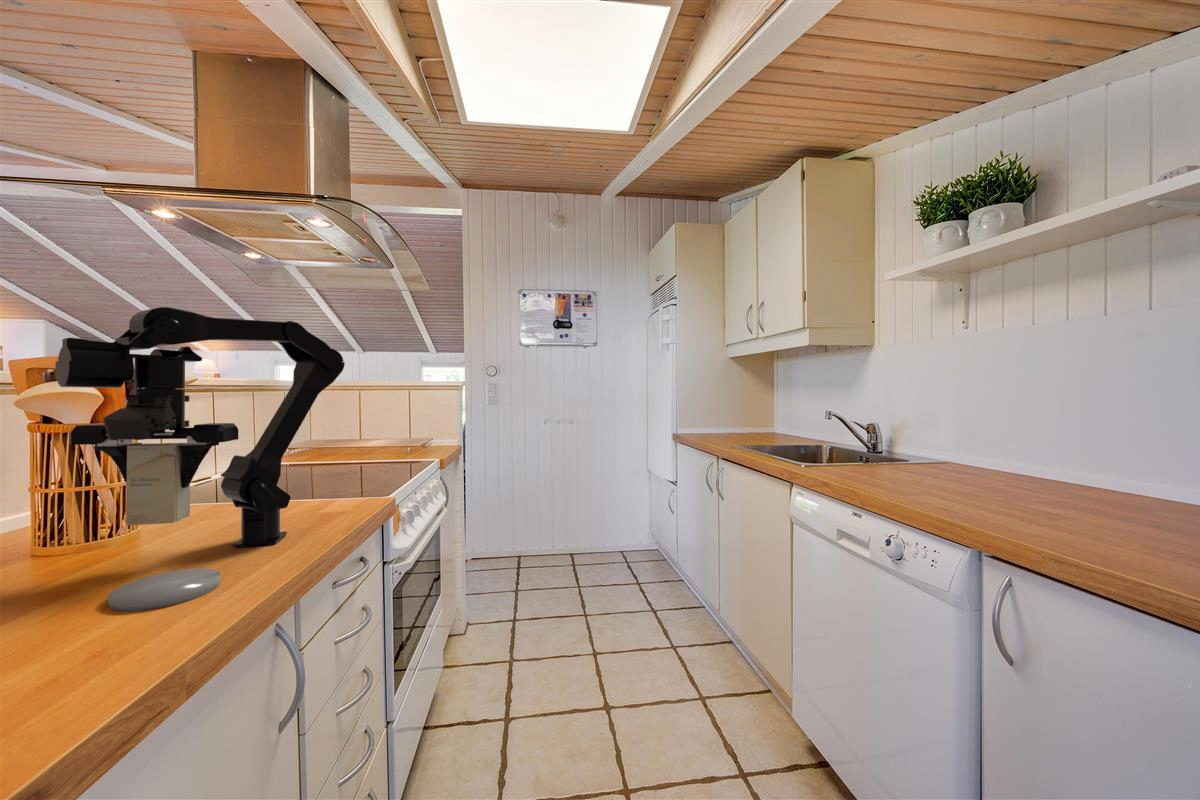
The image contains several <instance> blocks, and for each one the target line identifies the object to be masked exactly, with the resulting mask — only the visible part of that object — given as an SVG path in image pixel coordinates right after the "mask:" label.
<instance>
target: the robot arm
mask: <svg viewBox="0 0 1200 800" xmlns="http://www.w3.org/2000/svg"><path fill="white" fill-rule="evenodd" d="M128 328H129V329H127V330H125V332H124V333H122V334H121V335H120V336H118V337H117V338H116V339H115V340H114V341H113V342H108V341H97V340H96V341H95V340H88V339H83V338H76V337H65V338H63V339H62V340H61V341H62V345H61V348H60V350H59V353H58V357H57V361H55V377H56V380H57V384H58V386H59V387H61V388H96V389H97V388H98V389H99V388H101V389H102V388H105V389H119V388H122V386H123V385H124V383H125V382H131V381H132V379H133V380H134V381H133V382H134V383H133V384H134V385H133V387H134V390H133V394H128V395H127V398H126V405H125V407H122V408H119V409H117V410H115V411H114V412H111V413H110V414H108V415H106V416H104V417H103V418H102V420H103V423H92V424H77V425H75V426H74V427H73V428H72V429H71V430H70V431H69V433H68V434H69V435H68V436H69V437H68V438H69V439H68V440H69V441H68V442H69V443H68V444H69V446H70V445H71V446H73V445H74V446H76V445H77V446H78V445H80V446H83V445H84V446H85V445H96V446H92V448H93V450H94V451H101V452H103V453H104V454H106V455H107V456H108V457H110V458H111V459H112V461H113V462H114V463H115V464H116V467H117V468H118V470H119V472H120V474H121V475H122V477H123V479H124V482H125V484H127V446H130V445H138V444H143V442H133V441H134V440H135V441H141V440H142V441H143V440H178V439H179V440H185V439H186V443H187V444H185V445H180V446H178V447H179V449H180V451H181V453H182V467H181V487H182V488H186V487H188V486H189V484H190V485H191V482H192V480H193V478H194V476H195V474H196V473H197V471H198V469H199V467H200V465H201V464H202V461H203V460H204V459H205V457H206V456H207V454H208V453H209V452H210V450H211V449H212V447H216V446H219V445H220V443H226V442H230V441H235V440H236V441H237V440H239V428H238V426H237V425H236V424H235V423H234V422H219V423H218V422H215V423H214V422H211V423H199V424H194V426H193V427H190V420H186V417H185V415H186V412H185V410H186V402H187V403H189V402H190V395H186V362H187V363H194V362H195V363H196V362H201V361H203V357H202V356H200V355H199V354H197V353H196V352H194V351H193V350H192V348H191V347H190V346H182V347H180V348H179V349H177V350H176V349H161V348H160V349H159V348H155V349H153V350H152V351H151V352H150V354H142V353H141V354H139V353H130V352H131V351H137V350H139V351H140V350H148V349H151V348H154V347H163V346H172V345H173V346H174V345H181V344H182V345H183V344H190V343H196V342H197V343H198V342H205V341H233V342H235V341H237V342H239V341H240V342H244V341H245V342H275V343H276V342H277V343H278V344H279V345H280V346H281V347H282V349H283V350H284V351H285V353H286V354H287V356H288V357H289V358H290V359H291V360H292V361H294V363H295V365H294V368H293V378H292V379H293V380H292V385H291V387H290V388H289V390H288V392H287V394H286V395H285V397H284V399H283V400H282V402H281V404H280V405H279V407H278V408H277V410H276V412H275V413H274V415H273V416H272V419H271V420H270V421H269V423H268V425H267V427H266V428H265V430H264V431H263V433H262V435H261V437H260V438H259V440H258V441H257V443H256V444H255V446H254V448H253V449H252V450H251V451H250V452H249V453H247V454H246V455H238V454H236V455H234V456H233V457H232V459H231V460H230V463H229V465H228V467H227V469H226V470H225V471H224V472H223V473H221V474H220V477H223V478H222V481H221V484H220V488H221V490H222V492H223V494H224V496H225V497H226V498H228V499H230V500H231V501H232V503H233V505H234V507H235V508H240V509H241V510H240V511H241V515H240V516H241V525H240V526H241V528H240V533H241V535H240V536H241V538H239V539H238V540H237V541H235V542H234V543H232V547H233V548H237V547H238V548H239V547H253V546H267V545H274V544H277V543H278V542H279V541H281V540H282V539H283V538H284V537H286V536H287V535H286V534H288V531H281V510H282V509H286V508H288V506H289V503H290V501H291V495H289V494H288V493H287V492H286V491H285V490H283V489H282V488H281V487H279V486H278V484H279V481H280V478H281V474H282V473H281V472H282V459H283V457H284V455H285V453H286V452H287V450H288V449H289V446H290V444H291V443H292V441H293V439H294V438H295V436H296V434H297V432H298V431H299V429H300V427H301V426H302V423H303V422H304V420H305V418H306V417H307V415H308V413H309V412H310V410H311V409H312V406H313V405H314V403H315V402H316V399H317V398H318V395H320V393H321V392H322V391H324V390H325V389H327V387H329V386H330V385H332V384H333V383H334V382H335V381H336V379H337V378H338V377H339V376H340V375H341V374H342V373H343V370H344V367H345V361H344V357H343V356H342V354H341V353H340V351H338V350H336V349H334V348H332V347H330V346H329V345H328V344H327V343H326V342H325V341H324V340H322V339H320V338H319V337H317V336H316V335H314V334H313V333H311V332H309V331H308V330H307V329H306V328H305V327H304V326H303V325H301V324H300V323H298V322H296V321H293V320H285V321H277V320H276V321H274V320H261V319H260V320H258V319H240V318H227V317H226V318H221V317H213V316H208V315H204V314H200V313H197V312H195V311H189V310H184V309H179V308H174V307H169V306H163V307H155V308H149V309H144V310H140V311H138V312H136V313H135V314H134V315H132V317H131V319H130V320H129V323H128ZM133 377H134V378H133ZM167 430H168V431H167ZM282 537H283V538H282ZM281 538H282V539H281Z"/></svg>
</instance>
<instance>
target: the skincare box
mask: <svg viewBox="0 0 1200 800" xmlns="http://www.w3.org/2000/svg"><path fill="white" fill-rule="evenodd" d="M185 444H187V442H161V443H160V442H159V443H157V442H156V443H153V442H152V443H151V442H150V443H146V442H145V443H142V444H138V445H130V446H127V483H126V490H125V491H126V492H125V493H126V494H125V495H126V500H125V502H126V503H125V505H126V513H125V514H126V516H125V518H126V521H125V524H126V526H140V525H141V526H143V525H158V524H159V525H160V524H161V525H162V524H172V523H176V522H179V521H182V520H183V519H186V518H189V517H190V514H191V513H190V512H191V510H190V508H191V506H190V505H191V502H190V501H191V483H190V484H189V486H188V487H186V488H182V487H181V467H182V453H181V451H180V449H179V447H178V446H180V445H185Z"/></svg>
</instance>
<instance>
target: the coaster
mask: <svg viewBox="0 0 1200 800" xmlns="http://www.w3.org/2000/svg"><path fill="white" fill-rule="evenodd" d="M220 584H221V573H220V571H219V570H217V569H212V568H202V567H200V568H187V569H179V570H178V569H177V570H173V571H172V570H171V571H167V572H161V573H157V574H152V575H148V576H145V577H142V578H138V579H137V578H136V579H135V580H132V581H129V582H127V583H123V584H122V585H119V586H118V587H116V588H115V589H112V590H111V591H110V592H109V593H108V595H107V607H108V609H110V610H113V611H116V612H139V611H141V612H143V611H149V610H154V609H161V608H165V607H169V606H174V605H177V604H181V603H184V602H185V603H186V602H189V601H192V600H194V599H198V598H199V597H201V596H204V595H206V594H208V593H210V592H212V591H214V590H215V589H217V588H218V586H219V585H220Z"/></svg>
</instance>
